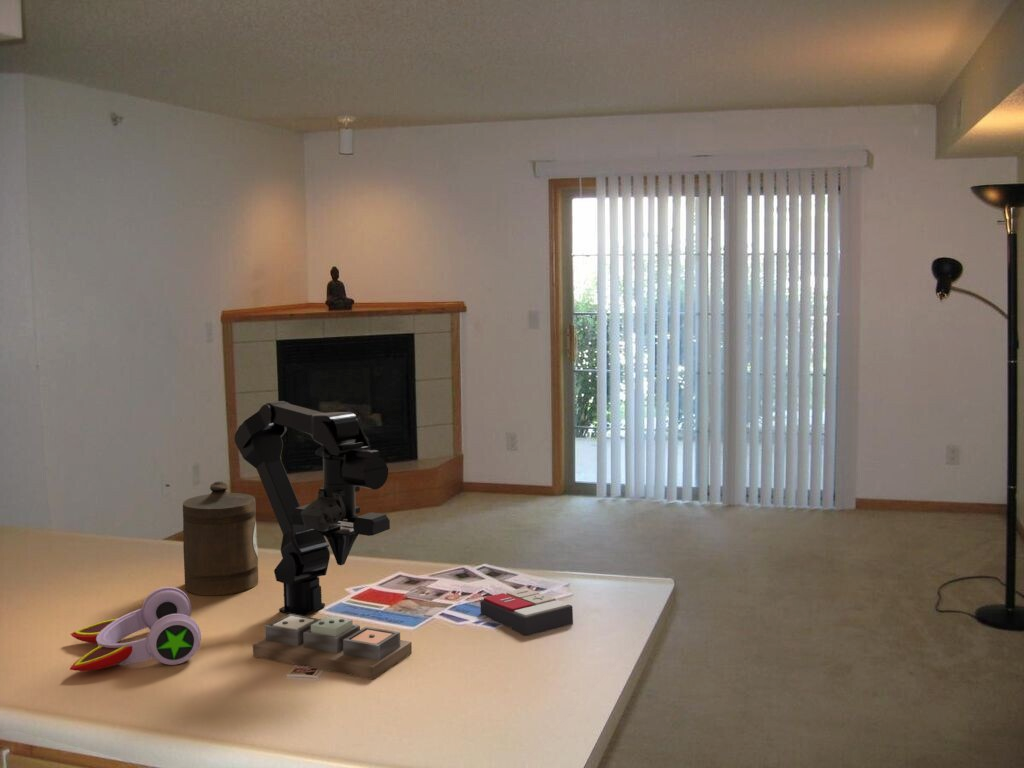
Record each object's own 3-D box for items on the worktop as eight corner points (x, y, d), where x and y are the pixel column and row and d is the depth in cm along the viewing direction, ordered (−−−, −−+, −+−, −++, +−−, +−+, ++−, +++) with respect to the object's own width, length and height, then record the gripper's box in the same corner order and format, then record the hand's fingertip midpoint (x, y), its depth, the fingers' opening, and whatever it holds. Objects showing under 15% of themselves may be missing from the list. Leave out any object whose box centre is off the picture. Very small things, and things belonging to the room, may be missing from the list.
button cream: (273, 636, 171) (272, 623, 171) (291, 626, 176) (290, 614, 176) (296, 640, 169) (296, 627, 169) (314, 630, 174) (314, 618, 174)
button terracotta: (351, 651, 165) (350, 638, 164) (367, 640, 169) (367, 628, 169) (376, 655, 163) (376, 642, 162) (392, 645, 167) (392, 632, 167)
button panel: (253, 656, 169) (252, 630, 169) (296, 633, 180) (295, 609, 180) (373, 679, 159) (372, 652, 159) (411, 653, 170) (411, 627, 169)
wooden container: (273, 581, 211) (269, 479, 209) (218, 600, 199) (214, 492, 196) (225, 570, 219) (221, 472, 217) (169, 589, 206) (164, 484, 204)
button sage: (311, 636, 168) (310, 623, 168) (328, 626, 172) (328, 614, 172) (335, 640, 166) (335, 628, 166) (352, 631, 170) (352, 618, 170)
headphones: (204, 617, 167) (73, 619, 158) (198, 674, 167) (68, 680, 159) (191, 584, 184) (74, 585, 176) (187, 636, 185) (69, 639, 177)
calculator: (526, 585, 196) (573, 601, 183) (526, 607, 196) (574, 624, 184) (479, 596, 190) (524, 613, 177) (480, 618, 190) (525, 637, 177)
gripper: (269, 484, 179) (272, 568, 181) (352, 495, 170) (354, 584, 172) (310, 473, 189) (312, 553, 191) (390, 483, 180) (392, 567, 182)
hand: (341, 564), depth 184 cm, fingers closed
